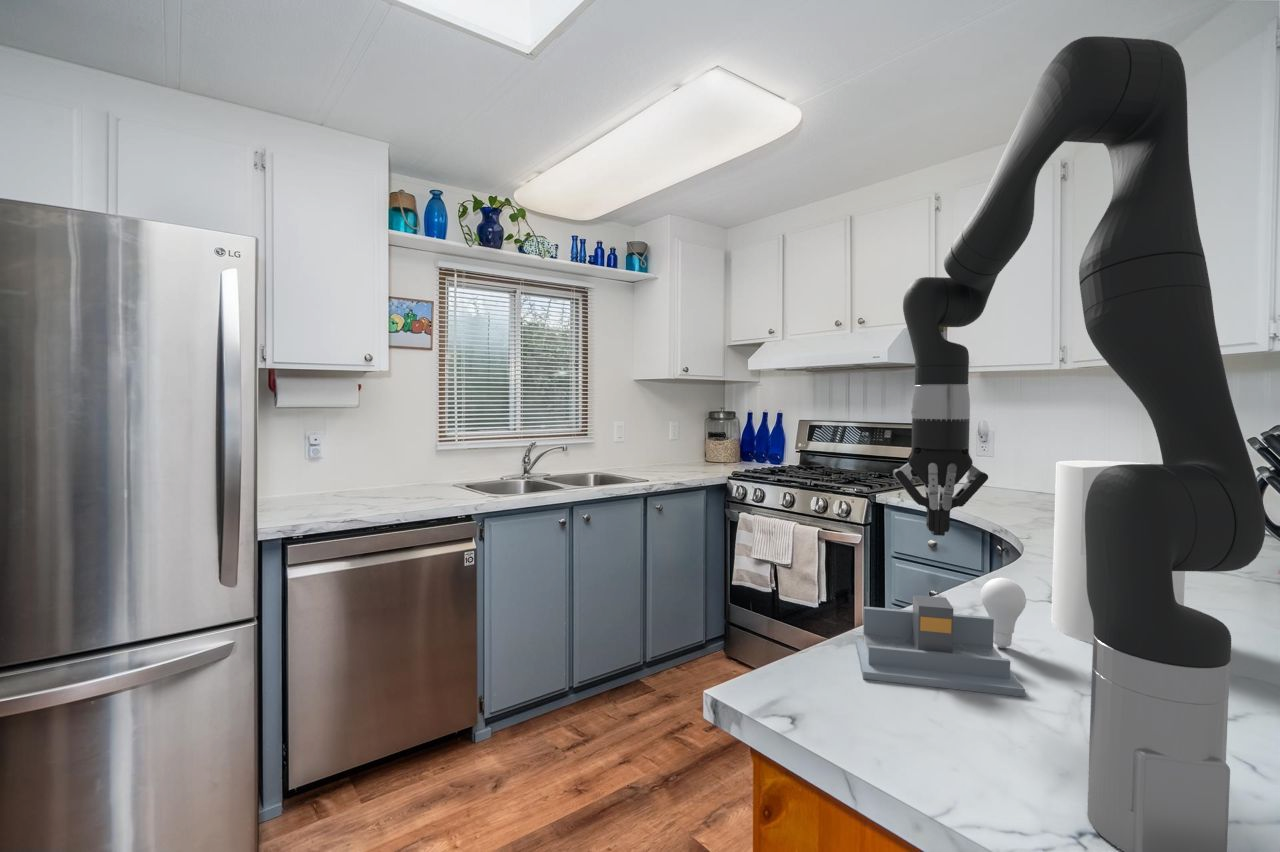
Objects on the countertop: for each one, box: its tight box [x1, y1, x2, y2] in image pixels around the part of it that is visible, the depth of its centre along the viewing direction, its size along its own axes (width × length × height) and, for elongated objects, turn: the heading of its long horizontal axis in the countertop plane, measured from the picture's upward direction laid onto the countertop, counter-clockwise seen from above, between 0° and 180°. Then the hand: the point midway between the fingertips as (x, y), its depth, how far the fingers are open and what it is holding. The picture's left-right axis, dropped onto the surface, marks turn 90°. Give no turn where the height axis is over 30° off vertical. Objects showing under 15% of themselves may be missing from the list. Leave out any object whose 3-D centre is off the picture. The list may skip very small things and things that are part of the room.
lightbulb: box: [980, 577, 1027, 649], centre depth 96 cm, size 6×6×11 cm
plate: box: [864, 634, 1003, 659], centre depth 90 cm, size 7×18×2 cm, turn 75°
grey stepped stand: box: [855, 606, 1026, 698], centre depth 89 cm, size 12×20×6 cm, turn 75°
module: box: [912, 594, 954, 653], centre depth 89 cm, size 5×4×7 cm
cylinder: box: [1050, 459, 1186, 645], centre depth 102 cm, size 17×17×28 cm
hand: (937, 534), depth 90 cm, fingers closed
